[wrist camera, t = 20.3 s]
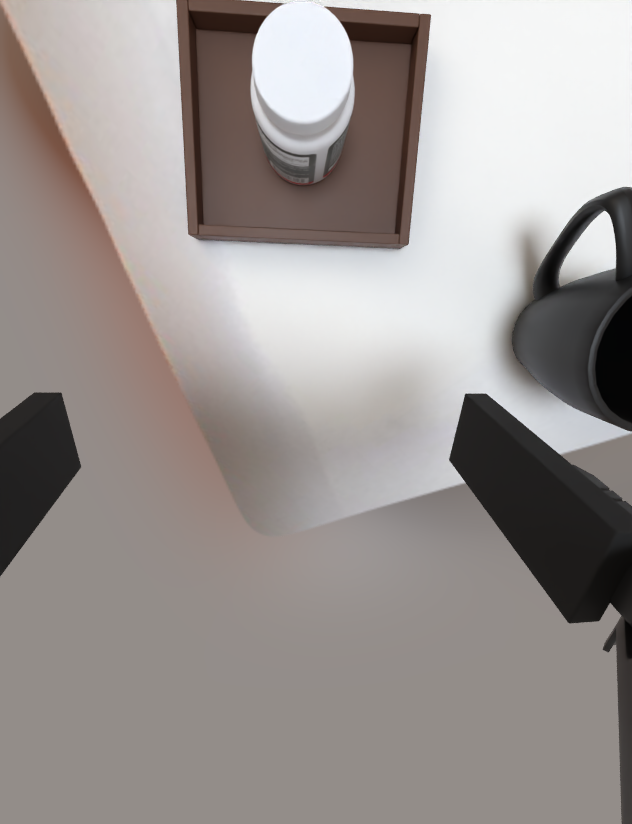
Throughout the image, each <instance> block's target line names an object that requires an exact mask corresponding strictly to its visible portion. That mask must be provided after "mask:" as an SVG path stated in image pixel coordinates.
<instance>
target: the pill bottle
mask: <svg viewBox="0 0 632 824" xmlns="http://www.w3.org/2000/svg"><path fill="white" fill-rule="evenodd" d="M354 97H355V86H354V78H353V54H352V48H351V44H350V41H349V38H348V36H347V33H346V31H345V29H344V27H343V26H342V24H341V23H340V21H339V20H338V19H337V18H336V17H335V15H333V14H332V13H331V12H330V11H329V10H328V9H326V8H325V7H323V6H321V5H319V4H317V3H314V2H310V1H303V0H297V1H292V2H288V3H285V4H283V5H281V6H279V7H278V8H276V9H275V10H274V11H272V12H271V13H270V14H269V15H268V17H267V18H266V19H265V20H264V22H263V23H262V25H261V26H260V28H259V30H258V33H257V35H256V38H255V41H254V46H253V52H252V76H251V101H252V107H253V112H254V115H255V119H256V123H257V127H258V131H259V134H260V138H261V141H262V145H263V148H264V152H265V155H266V157H267V160H268V162H269V164H270V165H271V167H272V168H273V170H274V171H275V172H276V173H277V174H278V175H279V176H280V177H282V178H283V179H284V180H286V181H288V182H290V183H293V184H297V185H310V184H314V183H317V182H319V181H321V180H323V179H324V178H325V177H327V176H328V175H329V174H330V173H331V171H332V170H333V169H334V167H335V166H336V164H337V162H338V160H339V158H340V155H341V152H342V148H343V145H344V141H345V137H346V134H347V130H348V126H349V123H350V119H351V116H352V112H353V106H354Z"/></svg>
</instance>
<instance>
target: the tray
mask: <svg viewBox="0 0 632 824" xmlns="http://www.w3.org/2000/svg"><path fill="white" fill-rule="evenodd" d="M176 4H177V24H178V43H179V62H180V81H181V101H182V120H183V139H184V159H185V178H186V197H187V216H188V234H189V235H191V236H193V237H194V238H196V239H202V240H224V241H246V242H268V243H290V244H311V245H333V246H355V247H377V248H399V249H400V248H402V247H404V246H406V245H408V244H409V233H410V223H411V213H412V203H413V193H414V183H415V172H416V162H417V152H418V142H419V132H420V122H421V112H422V101H423V91H424V81H425V71H426V61H427V51H428V41H429V30H430V20H431V15H430V14H420V15H419V14H417V13H403V12H390V11H377V10H363V9H350V8H336V7H325V8H326V9H328V10H329V11H330V12H331V13H332V14H333V15H335V17H336V18H337V19H338V20H339V21H340V23H341V24H342V26H343V27H344V29H345V31H346V33H347V36H348V38H349V41H350V44H351V48H352V54H353V78H354V86H355V97H354V106H353V112H352V116H351V119H350V123H349V126H348V130H347V134H346V137H345V141H344V145H343V148H342V152H341V155H340V158H339V160H338V162H337V164H336V166H335V167H334V169H333V170H332V171H331V173H330V174H329V175H328V176H327V177H325V178H324V179H323V180H321V181H319V182H317V183H314V184H310V185H297V184H293V183H290V182H288V181H286V180H284V179H283V178H282V177H280V176H279V175H278V174H277V173H276V172H275V171H274V170H273V168H272V167H271V165H270V164H269V162H268V160H267V157H266V155H265V152H264V148H263V145H262V141H261V138H260V134H259V131H258V127H257V123H256V119H255V115H254V112H253V107H252V101H251V76H252V52H253V46H254V41H255V38H256V35H257V33H258V30H259V28H260V26H261V25H262V23H263V22H264V20H265V19H266V18H267V17H268V15H269V14H270V13H271V12H272V11H274V10H275V9H276V8H278V7H279V6H281V5H283V4H282V3H269V2H255V1H242V0H176Z"/></svg>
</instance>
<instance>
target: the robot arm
mask: <svg viewBox="0 0 632 824" xmlns="http://www.w3.org/2000/svg"><path fill="white" fill-rule="evenodd" d="M449 460H450V462H451V463H452V465H453V466H454V467H455V469H456V470H457V471H458V473H459V474H460V475H461V477H462V478H463V480H464V481H465V482H466V484H467V485H468V486H469V488H470V489H471V490H472V492H473V493H474V494H475V496H476V497H477V499H478V500H479V501H480V502H481V504H482V505H483V507H484V508H485V510H486V511H487V512H488V513H489V515H490V516H491V517H492V519H493V520H494V522H495V523H496V525H497V526H498V527H499V529H500V530H501V531H502V533H503V534H504V536H505V537H506V538H507V540H508V541H509V542H510V544H511V545H512V546H513V548H514V549H515V551H516V552H517V553H518V555H519V556H520V557H521V559H522V560H523V561H524V563H525V564H526V565H527V567H528V568H529V570H530V571H531V572H532V574H533V575H534V576H535V578H536V579H537V581H538V582H539V583H540V585H541V586H542V587H543V589H544V590H545V591H546V593H547V594H548V595H549V597H550V598H551V600H552V601H553V602H554V604H555V605H556V606H557V608H558V609H559V611H560V612H561V613H562V615H563V616H564V617H565V619H566V620H567V622H568V623H580V622H594V621H599V620H600V619H601V617H602V615H603V614H604V612H605V610H606V608H607V607H608V605H609V603H611V604H612V605H613V606H614V607H615V609H616V610H617V611H618V612H619V613H620V614H621V615H622V616H621V618H620V619H619V621H618V623H617V624H616V626H615V628H614V629H613V631H612V632H611V634H610V636H609V637H608V639H607V640H606V642H605V644H604V647H603V650H605V651H607V652H609V651H610V649H611V648H612V646H613V645H616V647H617V681H618V713H619V746H620V781H621V814H622V824H632V506H631V505H629V504H628V503H627V502H626V501H622V498H621V497H620V496H618V495H617V494H616V493H615V492H613V491H610V490H609V488H608V487H607V486H606V485H605V484H603V483H602V482H601V481H600V480H599V479H597V478H596V477H595V476H594V475H592V474H590V473H588V472H586V471H584V470H582V469H580V468H578V467H577V466H575V465H571V464H570V463H569V462H568V461H567V460H565V459H564V458H563V457H562V456H561V455H559V454H558V453H557V452H556V451H555V450H553V449H552V448H551V447H550V446H549V445H547V444H546V443H545V442H544V441H543V440H541V439H540V438H539V437H538V436H537V435H535V434H534V433H533V432H532V431H531V430H529V429H528V428H527V427H526V426H524V425H523V424H522V423H521V422H520V421H518V420H517V419H516V418H515V417H514V416H512V415H511V414H510V413H509V412H508V411H506V410H505V409H504V408H503V407H502V406H500V405H499V404H498V403H497V402H496V401H494V400H493V399H492V398H491V397H489V396H488V395H487V394H465V398H464V402H463V406H462V410H461V414H460V418H459V422H458V426H457V430H456V434H455V438H454V442H453V446H452V450H451V454H450V458H449ZM80 468H81V464H80V461H79V457H78V453H77V449H76V446H75V442H74V438H73V434H72V431H71V427H70V423H69V420H68V416H67V412H66V409H65V405H64V401H63V397H62V393H33V394H32V395H31V396H29V397H28V398H27V399H25V400H24V401H23V402H22V403H20V404H19V405H18V406H16V407H15V408H14V409H13V410H11V411H10V412H9V413H7V414H6V415H5V416H3V417H2V418H1V419H0V576H1V575H2V573H3V572H4V571H5V569H6V568H7V567H8V565H9V564H10V562H11V561H12V560H13V558H14V557H15V556H16V554H17V553H18V551H19V550H20V549H21V548H22V546H23V545H24V544H25V542H26V541H27V539H28V538H29V537H30V535H31V534H32V533H33V531H34V530H35V529H36V527H37V526H38V525H39V523H40V522H41V521H42V519H43V518H44V516H45V515H46V513H47V512H48V511H49V510H50V508H51V507H52V506H53V504H54V503H55V502H56V500H57V499H58V498H59V496H60V495H61V493H62V492H63V491H64V489H65V488H66V487H67V485H68V484H69V483H70V481H71V480H72V478H73V477H74V476H75V474H76V473H77V472H78V471H79V469H80Z"/></svg>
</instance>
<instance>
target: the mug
mask: <svg viewBox="0 0 632 824" xmlns="http://www.w3.org/2000/svg"><path fill="white" fill-rule="evenodd" d="M603 211H606V212H607V213H608V214H609V215H610V217H611V220H612V223H613V228H614V233H615V241H616V269H612V270H608V271H605V272H601V273H598V274H595V275H592V276H589V277H585V278H582V279H579V280H576V281H574V282H571V283H569V284H566V285H564V286H562V287H559V272H560V268H561V266H562V263H563V261H564V259H565V258H566V256H567V254H568V253H569V251H570V250H571V248H572V247H573V245H574V244H575V242H576V241H577V240H578V238H579V237H580V236H581V234H582V233H583V232H584V230H585V229H586V228H587V227H588V225H589V224H590V223H591V222H592V221H593V220H594V219H595V218H596V217H597V216H598V215H599V214H600V213H602V212H603ZM533 294H534V298H535V300H534V301H533V302H531V303H530V304H529V305H528V306H527V307H526V308H525V309H524V310H523V311H522V313H521V314H520V315H519V317H518V319H517V321H516V323H515V326H514V330H513V335H512V344H513V350H514V353H515V355H516V357H517V359H518V360H519V361H520V363H521V364H522V365H523V366H525V367H526V369H527V370H528V371H529V372H530V373H531V375H532V376H533V377H534V378H535V379H536V380H537V381H538V382H539V383H540V384H541V385H542V386H544V387H545V388H546V389H547V390H549V391H550V392H551V393H553V394H554V395H555V396H557V397H558V398H559V399H561V400H562V401H563V402H565V403H567V404H568V405H570V406H572V407H573V408H575V409H577V410H580V411H582V412H584V413H587V414H589V415H591V416H594V417H596V418H599V419H601V420H603V421H606V422H608V423H611V424H613V425H615V426H618V427H620V428H623V429H625V430H628V431H632V188H630V187H622V188H618V189H615V190H612V191H610V192H607V193H605V194H602V195H600V196H598V197H596V198H594V199H592V200H590V201H588V202H587V203H586V204H584V205H583V206H582V207H581V208H580V209H579V210H578V211H577V212H576V214H575V215H574V216H573V217H572V218H571V220H570V221H569V222H568V224H567V225H566V226H565V228H564V229H563V231H562V232H561V234H560V235H559V237H558V238H557V240H556V241H555V243H554V244H553V246H552V247H551V249H550V250H549V252H548V253H547V255H546V257H545V258H544V260H543V261H542V263H541V265H540V267H539V269H538V271H537V273H536V275H535V278H534V282H533Z"/></svg>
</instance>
